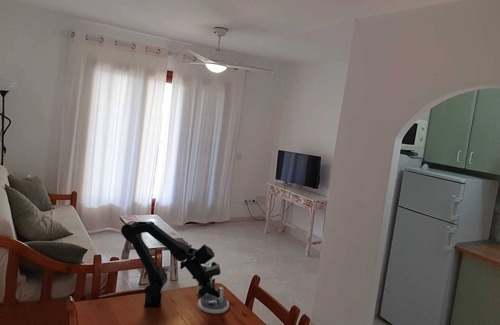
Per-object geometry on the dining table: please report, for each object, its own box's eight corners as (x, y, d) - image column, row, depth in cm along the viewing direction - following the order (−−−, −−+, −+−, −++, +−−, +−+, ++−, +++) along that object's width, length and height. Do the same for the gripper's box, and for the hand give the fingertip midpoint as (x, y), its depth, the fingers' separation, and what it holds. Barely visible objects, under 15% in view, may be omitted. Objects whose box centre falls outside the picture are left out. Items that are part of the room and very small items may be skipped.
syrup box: (207, 296, 179) (210, 267, 178) (196, 294, 180) (198, 265, 179) (211, 291, 185) (214, 263, 183) (200, 289, 186) (202, 261, 184)
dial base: (196, 312, 164) (197, 308, 163) (199, 297, 177) (199, 294, 177) (229, 314, 165) (229, 311, 165) (228, 299, 179) (228, 296, 178)
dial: (208, 311, 163) (210, 291, 162) (196, 298, 172) (198, 280, 172) (231, 306, 169) (234, 287, 168) (218, 294, 179) (220, 276, 178)
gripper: (209, 266, 154) (233, 294, 155) (212, 251, 173) (234, 277, 174) (187, 282, 154) (212, 311, 156) (193, 266, 173) (215, 292, 174)
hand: (219, 297), depth 165 cm, fingers closed
